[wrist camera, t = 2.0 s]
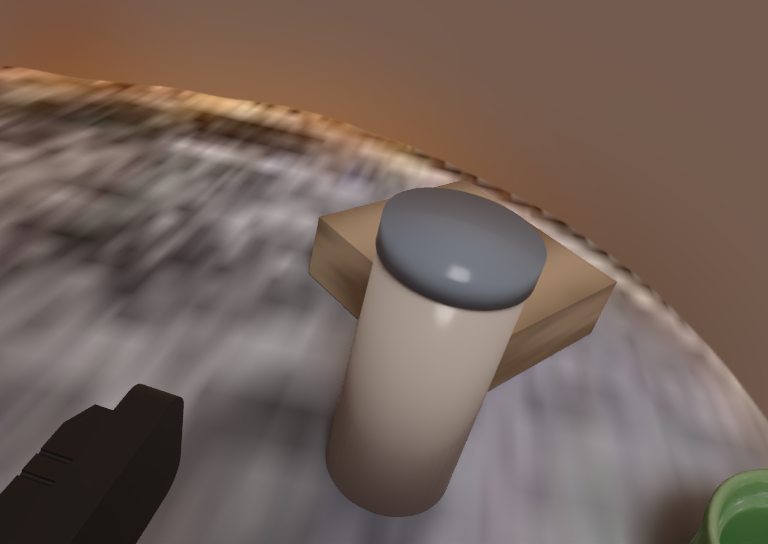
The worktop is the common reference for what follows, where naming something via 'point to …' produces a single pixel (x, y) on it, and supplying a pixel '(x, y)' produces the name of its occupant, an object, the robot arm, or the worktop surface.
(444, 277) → the canister
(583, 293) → the base block
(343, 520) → the worktop surface
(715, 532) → the ramekin
